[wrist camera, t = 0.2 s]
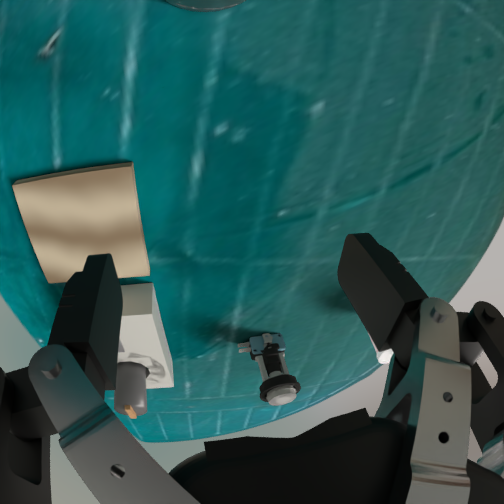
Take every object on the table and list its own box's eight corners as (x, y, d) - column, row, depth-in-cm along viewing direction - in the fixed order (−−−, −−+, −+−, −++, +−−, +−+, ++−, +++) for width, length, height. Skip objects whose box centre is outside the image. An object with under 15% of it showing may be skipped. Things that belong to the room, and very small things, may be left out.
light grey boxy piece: (71, 288, 31) (62, 321, 27) (152, 282, 33) (151, 316, 29) (108, 363, 41) (106, 391, 37) (172, 360, 43) (174, 388, 39)
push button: (236, 352, 44) (249, 412, 37) (238, 330, 41) (253, 396, 34) (279, 346, 46) (298, 404, 38) (285, 325, 43) (307, 386, 35)
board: (16, 180, 22) (12, 185, 21) (132, 161, 24) (131, 166, 23) (50, 277, 29) (48, 283, 29) (150, 269, 32) (149, 275, 31)
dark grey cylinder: (113, 335, 37) (109, 407, 29) (142, 333, 38) (142, 407, 30) (121, 352, 40) (119, 420, 32) (148, 350, 40) (150, 419, 32)
